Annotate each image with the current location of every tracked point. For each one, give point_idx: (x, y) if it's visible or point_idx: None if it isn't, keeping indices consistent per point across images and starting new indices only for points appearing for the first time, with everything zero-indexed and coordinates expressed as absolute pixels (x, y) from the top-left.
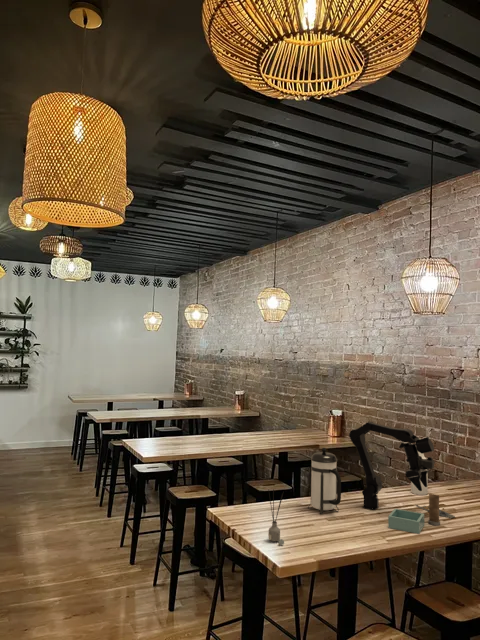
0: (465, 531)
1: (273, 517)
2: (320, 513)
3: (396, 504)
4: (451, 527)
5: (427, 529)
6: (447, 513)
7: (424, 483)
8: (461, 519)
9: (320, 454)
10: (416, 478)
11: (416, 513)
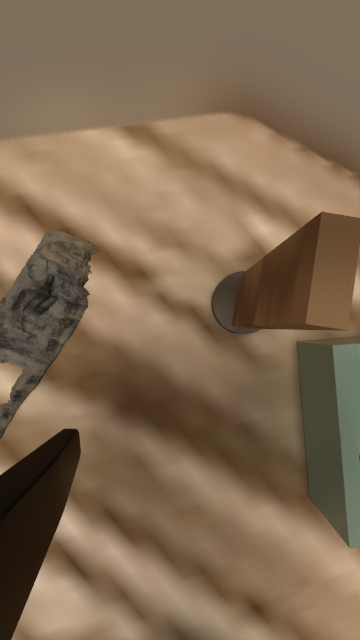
0: (258, 148)
1: None
2: None
3: None
4: (241, 217)
5: (353, 312)
6: (29, 273)
7: (58, 495)
8: (68, 196)
9: None
10: None
11: (348, 392)
